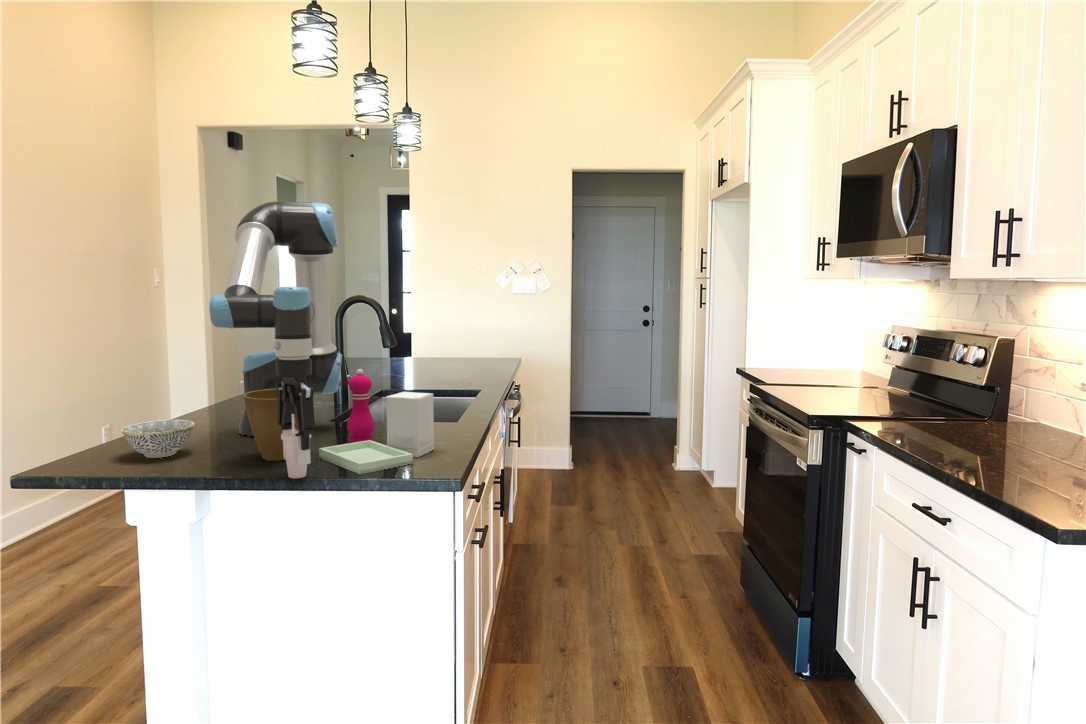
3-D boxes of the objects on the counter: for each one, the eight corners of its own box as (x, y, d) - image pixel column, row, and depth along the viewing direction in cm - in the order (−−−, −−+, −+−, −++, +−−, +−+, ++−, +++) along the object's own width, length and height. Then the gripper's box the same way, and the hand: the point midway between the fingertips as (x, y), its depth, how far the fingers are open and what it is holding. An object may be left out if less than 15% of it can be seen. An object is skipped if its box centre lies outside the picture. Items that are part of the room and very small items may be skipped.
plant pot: (232, 462, 171) (230, 396, 169) (271, 448, 185) (269, 387, 183) (287, 467, 167) (284, 399, 165) (322, 452, 181) (321, 390, 179)
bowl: (120, 466, 166) (118, 434, 165) (124, 452, 180) (122, 422, 179) (197, 459, 174) (195, 428, 173) (194, 445, 188) (193, 417, 187)
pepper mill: (368, 446, 188) (366, 371, 186) (342, 445, 190) (340, 370, 187) (379, 440, 195) (378, 367, 193) (355, 439, 197) (353, 366, 194)
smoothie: (286, 472, 163) (284, 411, 161) (315, 471, 163) (313, 411, 161) (278, 480, 156) (276, 416, 155) (308, 479, 157) (306, 416, 155)
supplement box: (435, 450, 185) (434, 392, 183) (418, 458, 177) (417, 398, 175) (404, 447, 188) (403, 390, 186) (386, 455, 179) (385, 395, 178)
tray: (319, 458, 176) (318, 448, 176) (369, 449, 185) (369, 440, 185) (359, 474, 161) (359, 464, 161) (412, 463, 171) (412, 454, 171)
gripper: (258, 355, 161) (262, 455, 164) (296, 362, 147) (299, 472, 150) (291, 353, 166) (294, 450, 169) (330, 360, 152) (333, 466, 155)
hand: (296, 460), depth 159 cm, fingers closed on smoothie, 6 cm apart
